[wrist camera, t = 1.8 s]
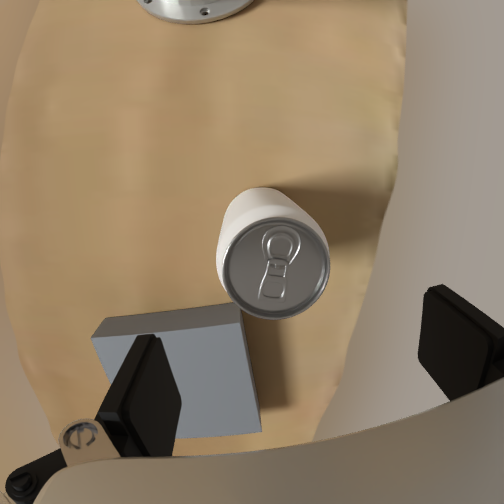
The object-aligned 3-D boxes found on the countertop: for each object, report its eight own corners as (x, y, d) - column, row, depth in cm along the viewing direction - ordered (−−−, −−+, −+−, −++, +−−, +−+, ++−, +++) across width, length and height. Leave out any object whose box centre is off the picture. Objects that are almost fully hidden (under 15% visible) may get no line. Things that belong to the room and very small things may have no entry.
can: (303, 192, 27) (350, 219, 16) (291, 263, 29) (323, 331, 18) (228, 181, 27) (221, 199, 15) (219, 254, 28) (207, 320, 17)
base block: (105, 318, 30) (90, 337, 26) (239, 301, 30) (239, 322, 26) (145, 415, 34) (139, 438, 30) (259, 407, 34) (261, 431, 30)
